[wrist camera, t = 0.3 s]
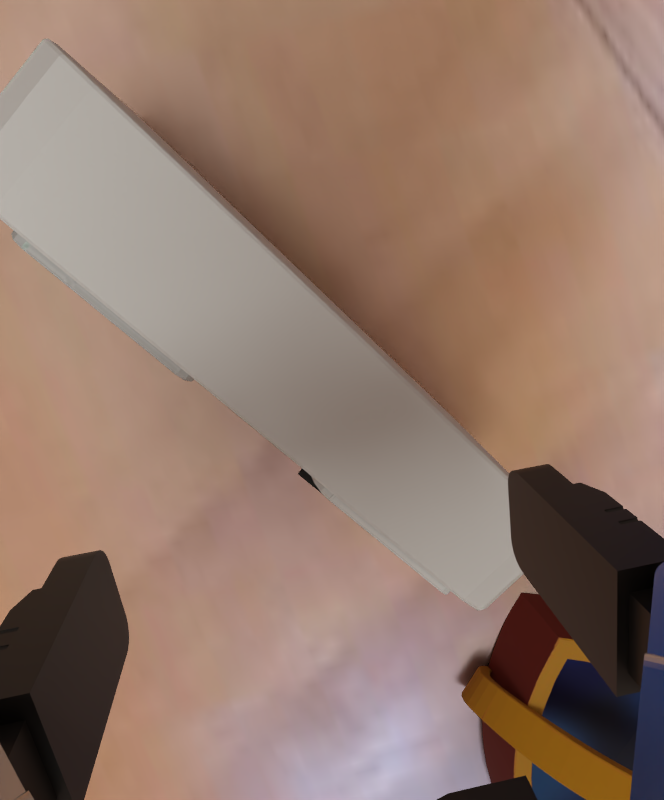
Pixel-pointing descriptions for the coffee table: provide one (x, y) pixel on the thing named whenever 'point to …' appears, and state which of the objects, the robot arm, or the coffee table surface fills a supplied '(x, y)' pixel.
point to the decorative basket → (552, 712)
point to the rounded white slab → (244, 324)
